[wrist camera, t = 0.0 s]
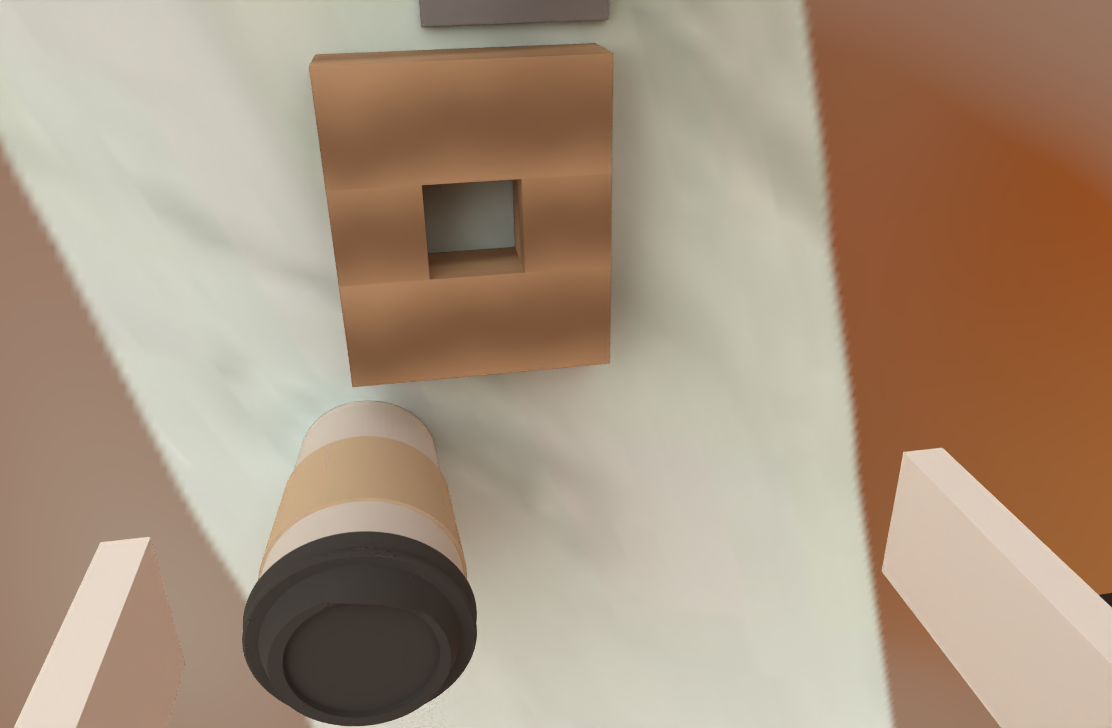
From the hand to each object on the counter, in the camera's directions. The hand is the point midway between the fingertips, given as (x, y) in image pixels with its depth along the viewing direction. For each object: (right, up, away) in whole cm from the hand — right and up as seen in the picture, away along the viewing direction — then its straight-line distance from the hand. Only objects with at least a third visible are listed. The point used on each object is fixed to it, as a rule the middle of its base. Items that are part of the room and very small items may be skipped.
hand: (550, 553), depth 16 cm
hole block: (-4, +11, +26) cm, 28 cm away
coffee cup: (-10, -1, +31) cm, 32 cm away
